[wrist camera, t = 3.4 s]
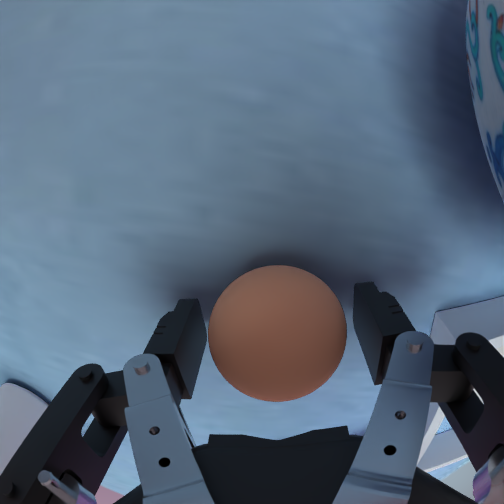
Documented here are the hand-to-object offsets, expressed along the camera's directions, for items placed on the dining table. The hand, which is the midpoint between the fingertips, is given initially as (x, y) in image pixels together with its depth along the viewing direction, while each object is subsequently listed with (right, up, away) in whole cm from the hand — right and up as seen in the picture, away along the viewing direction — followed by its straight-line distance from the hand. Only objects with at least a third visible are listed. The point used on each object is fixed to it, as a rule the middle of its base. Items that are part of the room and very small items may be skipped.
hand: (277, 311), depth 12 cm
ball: (0, 0, +1) cm, 1 cm away
